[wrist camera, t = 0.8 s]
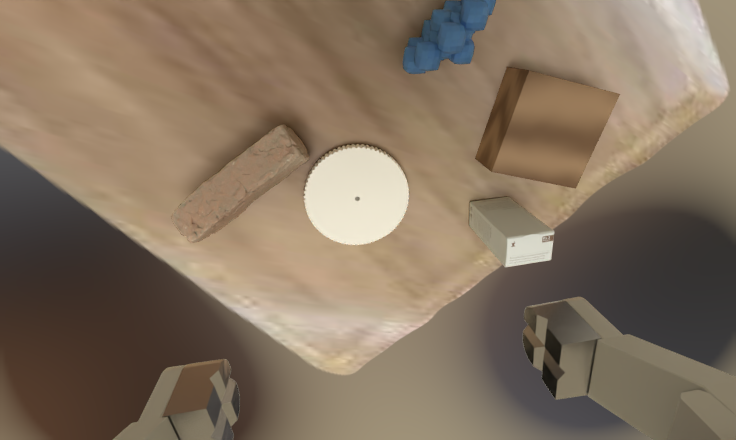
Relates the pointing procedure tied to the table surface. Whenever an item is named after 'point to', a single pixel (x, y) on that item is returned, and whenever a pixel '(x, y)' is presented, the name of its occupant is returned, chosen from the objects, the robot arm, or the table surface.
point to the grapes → (447, 35)
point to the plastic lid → (356, 194)
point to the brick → (240, 184)
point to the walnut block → (544, 127)
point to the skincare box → (511, 231)
